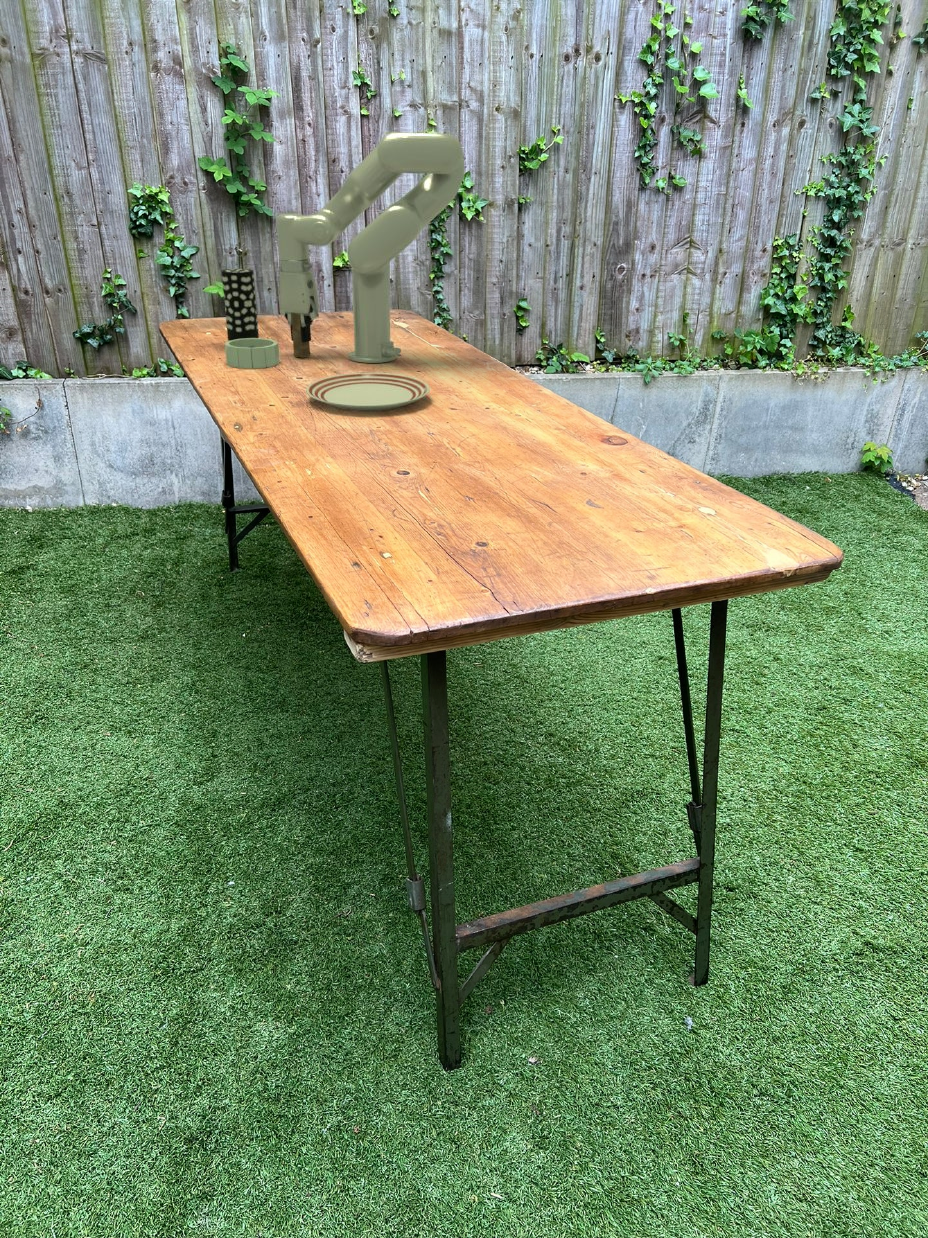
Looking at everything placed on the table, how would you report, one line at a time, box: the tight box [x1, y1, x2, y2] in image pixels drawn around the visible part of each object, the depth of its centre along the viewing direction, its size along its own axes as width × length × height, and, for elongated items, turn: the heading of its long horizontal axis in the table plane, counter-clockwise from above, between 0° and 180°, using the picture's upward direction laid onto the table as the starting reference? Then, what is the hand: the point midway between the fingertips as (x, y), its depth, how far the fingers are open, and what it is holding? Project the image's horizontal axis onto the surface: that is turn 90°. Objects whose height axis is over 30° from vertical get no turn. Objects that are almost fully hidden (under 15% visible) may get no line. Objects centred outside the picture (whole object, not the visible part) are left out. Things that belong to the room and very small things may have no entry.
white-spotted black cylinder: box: [220, 268, 260, 342], centre depth 246 cm, size 8×8×20 cm
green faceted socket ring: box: [224, 337, 281, 370], centre depth 233 cm, size 13×13×5 cm
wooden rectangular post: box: [291, 313, 311, 359], centre depth 238 cm, size 3×3×14 cm
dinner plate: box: [305, 372, 431, 412], centre depth 203 cm, size 27×27×3 cm
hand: (301, 340), depth 240 cm, fingers closed on wooden rectangular post, 2 cm apart
